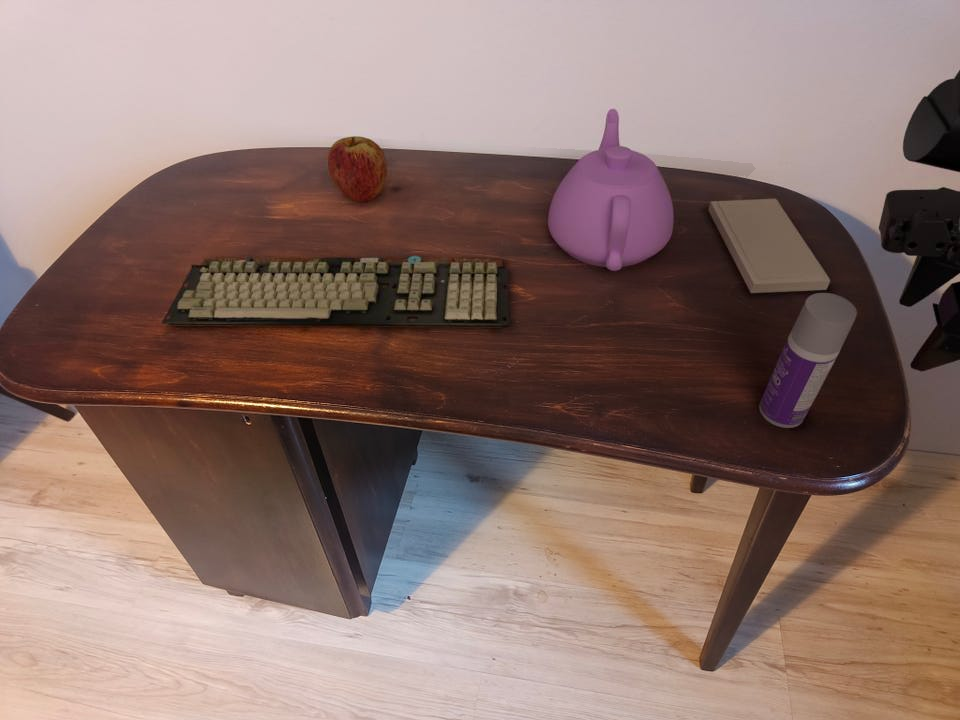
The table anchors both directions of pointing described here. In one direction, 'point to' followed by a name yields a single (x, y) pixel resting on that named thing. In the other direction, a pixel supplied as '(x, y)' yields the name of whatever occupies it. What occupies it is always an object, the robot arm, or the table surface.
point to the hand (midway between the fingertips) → (909, 334)
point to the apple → (357, 167)
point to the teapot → (612, 206)
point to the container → (807, 358)
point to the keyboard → (343, 293)
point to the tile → (767, 246)
